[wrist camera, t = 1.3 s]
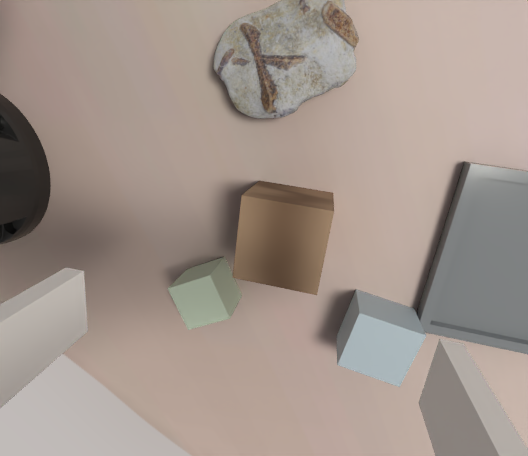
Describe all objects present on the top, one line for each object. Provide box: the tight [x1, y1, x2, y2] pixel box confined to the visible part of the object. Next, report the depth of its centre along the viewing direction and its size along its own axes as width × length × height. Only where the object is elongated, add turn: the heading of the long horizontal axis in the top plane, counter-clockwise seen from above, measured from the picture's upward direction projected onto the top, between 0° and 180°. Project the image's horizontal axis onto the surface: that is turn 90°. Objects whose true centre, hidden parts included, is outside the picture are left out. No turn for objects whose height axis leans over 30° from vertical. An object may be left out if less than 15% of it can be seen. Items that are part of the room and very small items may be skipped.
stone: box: [214, 0, 359, 118], centre depth 23 cm, size 10×7×3 cm
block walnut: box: [232, 181, 334, 295], centre depth 25 cm, size 6×6×6 cm
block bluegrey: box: [337, 289, 426, 387], centre depth 28 cm, size 5×5×4 cm
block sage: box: [168, 257, 242, 330], centre depth 29 cm, size 4×4×4 cm
